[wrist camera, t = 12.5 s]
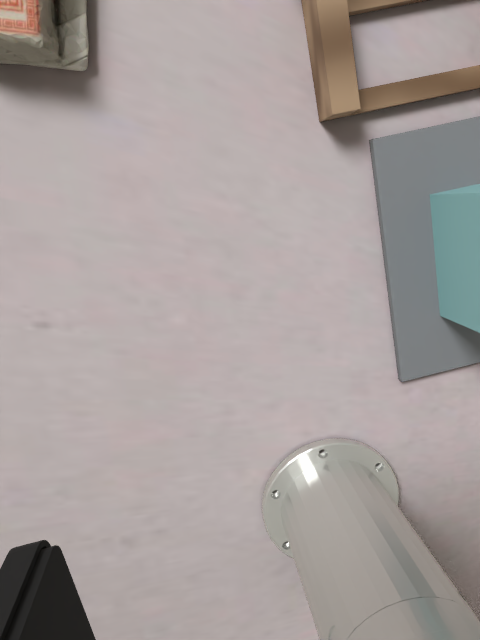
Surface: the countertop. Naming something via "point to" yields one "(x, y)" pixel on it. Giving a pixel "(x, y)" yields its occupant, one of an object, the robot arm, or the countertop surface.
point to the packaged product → (44, 33)
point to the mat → (422, 240)
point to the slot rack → (340, 73)
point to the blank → (458, 253)
